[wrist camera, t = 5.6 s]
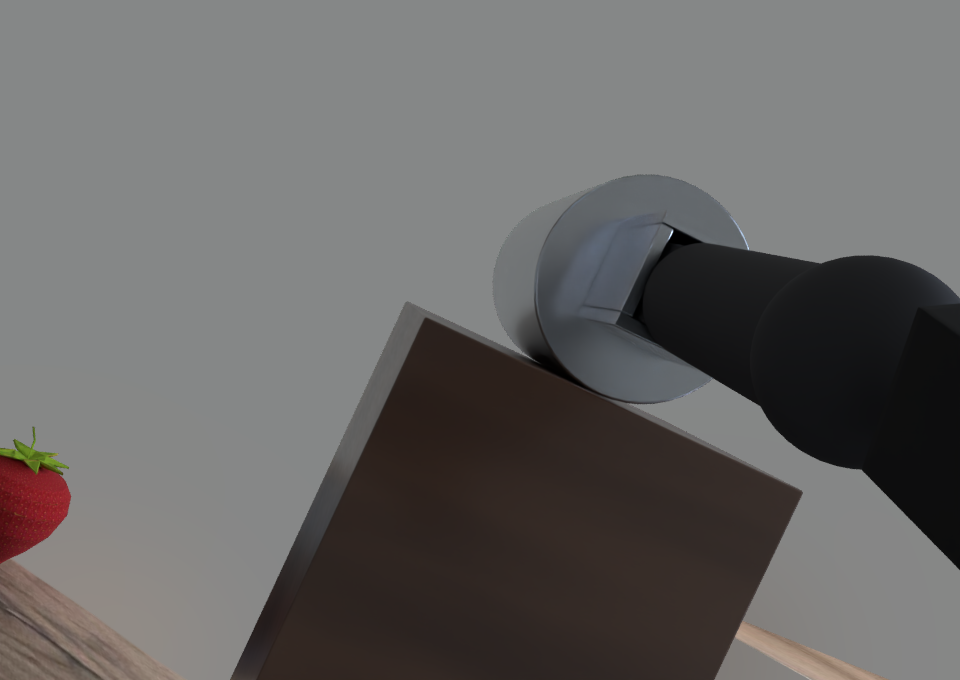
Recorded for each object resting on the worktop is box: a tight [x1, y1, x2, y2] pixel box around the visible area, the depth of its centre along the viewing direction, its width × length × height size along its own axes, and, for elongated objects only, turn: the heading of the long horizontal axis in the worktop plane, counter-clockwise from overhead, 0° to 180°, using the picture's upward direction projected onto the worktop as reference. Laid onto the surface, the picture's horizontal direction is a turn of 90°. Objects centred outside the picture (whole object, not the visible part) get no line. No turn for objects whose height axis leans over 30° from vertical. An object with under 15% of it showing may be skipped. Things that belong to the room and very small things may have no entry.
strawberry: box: [0, 427, 71, 564], centre depth 58 cm, size 6×8×10 cm
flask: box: [493, 175, 749, 404], centre depth 29 cm, size 13×7×7 cm, turn 8°
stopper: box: [632, 242, 960, 469], centre depth 20 cm, size 13×4×4 cm, turn 10°
